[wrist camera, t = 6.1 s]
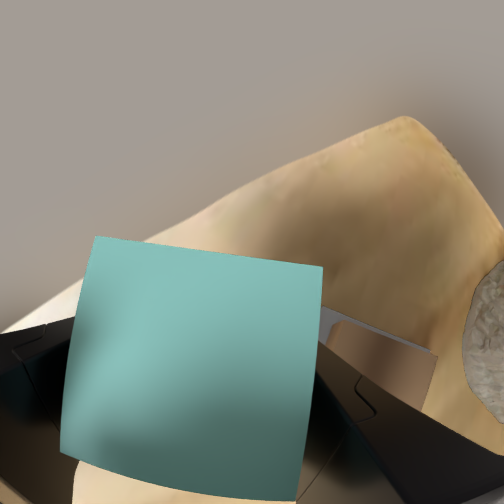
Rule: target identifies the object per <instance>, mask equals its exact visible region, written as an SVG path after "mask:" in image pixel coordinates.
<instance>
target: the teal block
mask: <svg viewBox="0 0 504 504" xmlns="http://www.w3.org/2000/svg"><path fill="white" fill-rule="evenodd" d="M322 277H323V267H320V266H313V265H305V264H298V263H290V262H283V261H275V260H268V259H261V258H253V257H246V256H238V255H231V254H224V253H217V252H209V251H202V250H195V249H188V248H180V247H173V246H166V245H159V244H152V243H145V242H137V241H130V240H123V239H116V238H109V237H102V236H96V237H95V240H94V244H93V247H92V251H91V254H90V258H89V261H88V265H87V269H86V272H85V276H84V280H83V284H82V288H81V293H80V297H79V301H78V306H77V310H76V315H75V320H74V325H73V330H72V336H71V342H70V348H69V354H68V361H67V368H66V375H65V383H64V392H63V403H62V415H61V432H60V452H62V453H64V454H66V455H68V456H71V457H73V458H76V459H78V460H81V461H83V462H86V463H88V464H91V465H94V466H96V467H99V468H102V469H105V470H108V471H111V472H114V473H117V474H120V475H123V476H127V477H130V478H133V479H137V480H140V481H144V482H148V483H152V484H156V485H160V486H164V487H169V488H173V489H178V490H183V491H189V492H194V493H200V494H206V495H213V496H221V497H229V498H238V499H250V500H265V501H295V500H296V495H297V489H298V484H299V479H300V473H301V467H302V461H303V455H304V449H305V443H306V436H307V430H308V423H309V415H310V408H311V400H312V392H313V384H314V375H315V365H316V356H317V345H318V334H319V322H320V309H321V294H322Z"/></svg>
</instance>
